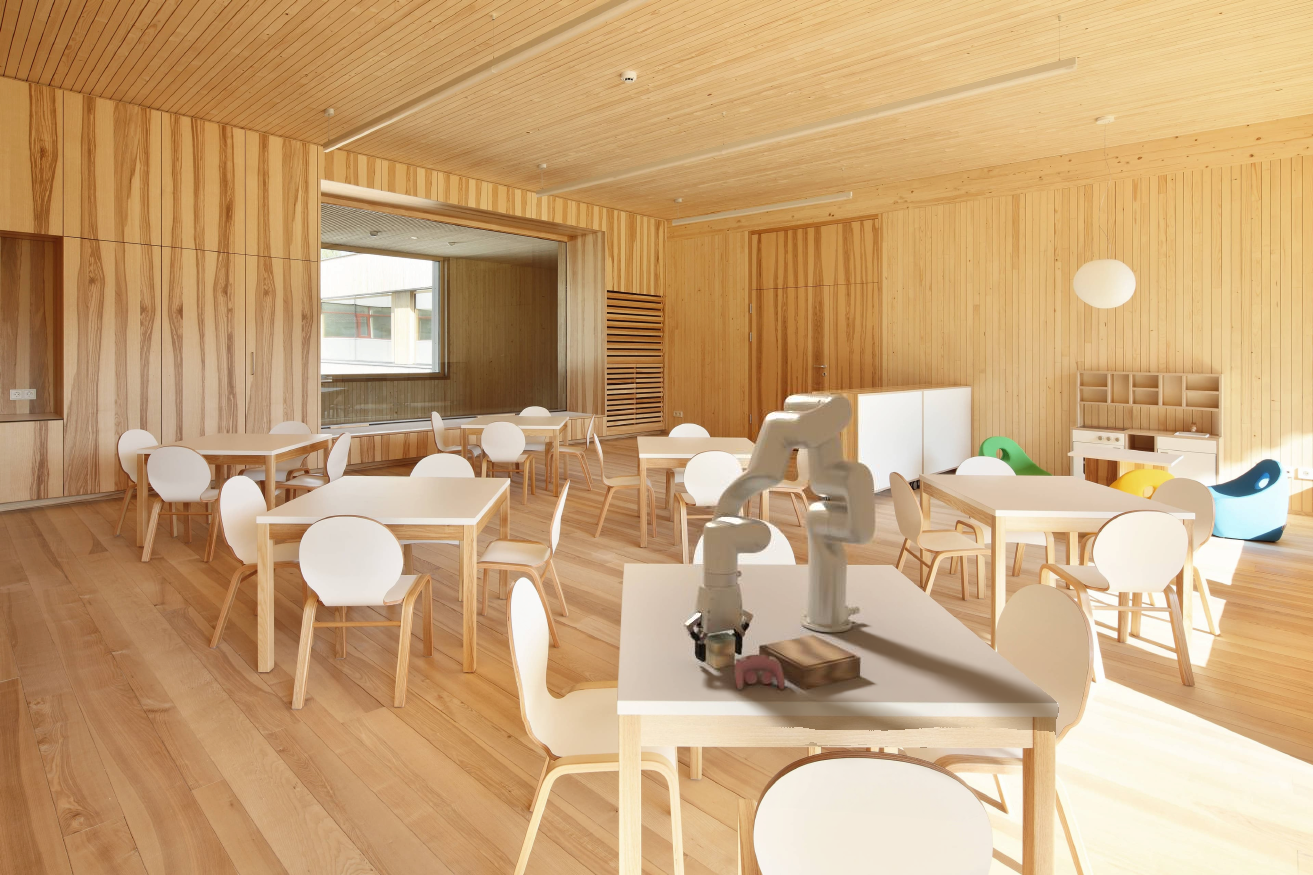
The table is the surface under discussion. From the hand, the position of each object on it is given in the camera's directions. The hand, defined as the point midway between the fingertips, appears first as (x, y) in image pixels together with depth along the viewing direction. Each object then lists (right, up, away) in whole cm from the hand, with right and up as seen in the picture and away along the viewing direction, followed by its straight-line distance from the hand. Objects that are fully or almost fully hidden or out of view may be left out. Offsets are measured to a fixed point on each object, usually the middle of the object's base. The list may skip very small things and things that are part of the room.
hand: (718, 656), depth 157 cm
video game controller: (+7, -3, -12) cm, 14 cm away
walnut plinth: (+19, -2, -4) cm, 19 cm away
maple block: (0, -1, 0) cm, 1 cm away
